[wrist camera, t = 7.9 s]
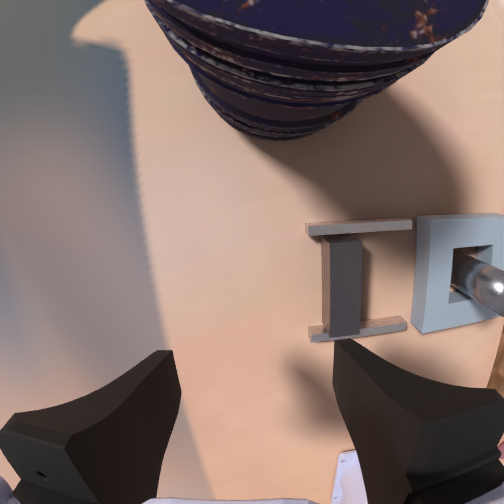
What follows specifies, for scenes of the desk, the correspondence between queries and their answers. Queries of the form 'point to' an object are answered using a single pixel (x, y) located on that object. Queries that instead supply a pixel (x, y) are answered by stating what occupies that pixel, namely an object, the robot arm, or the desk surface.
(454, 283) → the lock pin
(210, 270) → the desk surface
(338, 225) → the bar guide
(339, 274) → the bar
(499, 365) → the mount block
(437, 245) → the socket block
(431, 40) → the storage jar
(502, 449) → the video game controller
